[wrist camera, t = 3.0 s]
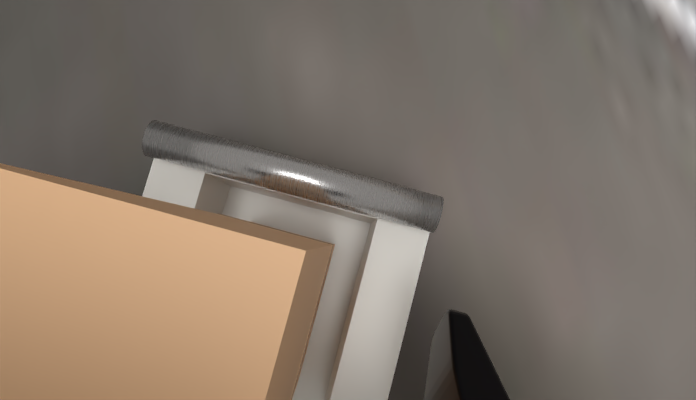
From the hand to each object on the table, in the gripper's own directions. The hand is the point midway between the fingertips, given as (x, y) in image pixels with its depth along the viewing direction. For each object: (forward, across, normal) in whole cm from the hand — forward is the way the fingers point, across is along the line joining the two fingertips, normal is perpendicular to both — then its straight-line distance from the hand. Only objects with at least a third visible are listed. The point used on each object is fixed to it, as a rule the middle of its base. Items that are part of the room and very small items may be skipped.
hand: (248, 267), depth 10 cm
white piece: (+4, 0, +6) cm, 7 cm away
